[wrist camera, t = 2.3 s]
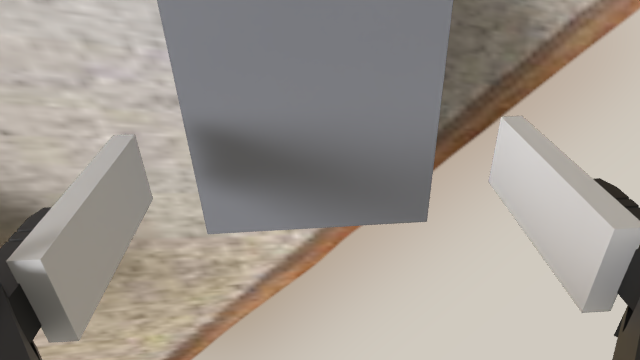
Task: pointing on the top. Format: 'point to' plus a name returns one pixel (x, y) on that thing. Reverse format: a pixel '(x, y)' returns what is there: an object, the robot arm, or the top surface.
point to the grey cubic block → (309, 108)
